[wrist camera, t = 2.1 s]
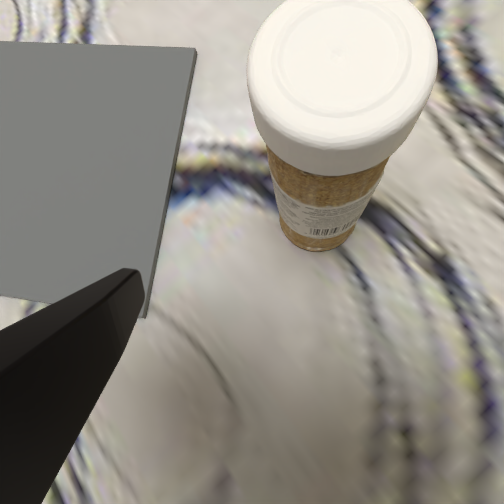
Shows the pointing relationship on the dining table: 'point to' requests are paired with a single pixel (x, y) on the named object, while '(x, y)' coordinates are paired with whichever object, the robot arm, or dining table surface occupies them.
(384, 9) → the sprinkles bottle
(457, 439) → the dining table surface
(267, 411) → the dining table surface
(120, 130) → the mat
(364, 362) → the dining table surface
